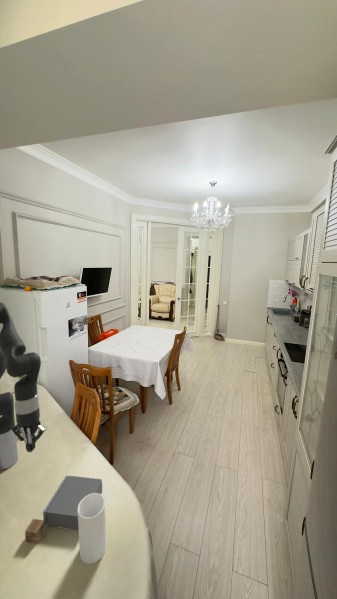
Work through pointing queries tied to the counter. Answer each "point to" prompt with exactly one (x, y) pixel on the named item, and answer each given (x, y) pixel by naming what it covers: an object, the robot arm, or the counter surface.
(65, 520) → the housing
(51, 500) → the tray
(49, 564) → the counter surface
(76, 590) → the counter surface
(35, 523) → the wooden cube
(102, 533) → the cup
